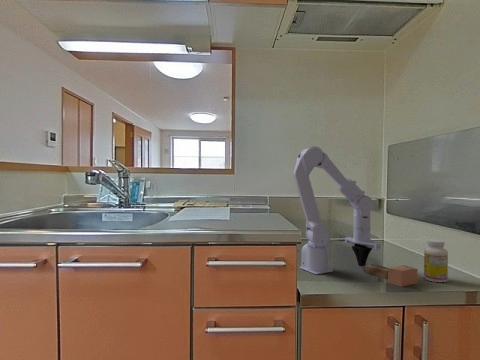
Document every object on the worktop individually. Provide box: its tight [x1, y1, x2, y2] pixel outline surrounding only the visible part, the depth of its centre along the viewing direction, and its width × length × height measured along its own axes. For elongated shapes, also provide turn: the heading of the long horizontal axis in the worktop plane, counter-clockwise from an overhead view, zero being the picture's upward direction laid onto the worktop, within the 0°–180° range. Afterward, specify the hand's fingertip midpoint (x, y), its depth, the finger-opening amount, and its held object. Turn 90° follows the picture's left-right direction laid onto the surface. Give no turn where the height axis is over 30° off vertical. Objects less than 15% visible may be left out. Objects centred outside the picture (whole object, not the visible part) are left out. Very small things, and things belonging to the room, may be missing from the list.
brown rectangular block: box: [364, 263, 389, 280], centre depth 113 cm, size 8×4×3 cm, turn 35°
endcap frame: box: [361, 262, 418, 288], centre depth 112 cm, size 21×8×4 cm, turn 27°
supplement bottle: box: [423, 238, 449, 284], centre depth 107 cm, size 7×7×13 cm
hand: (361, 265), depth 119 cm, fingers closed
